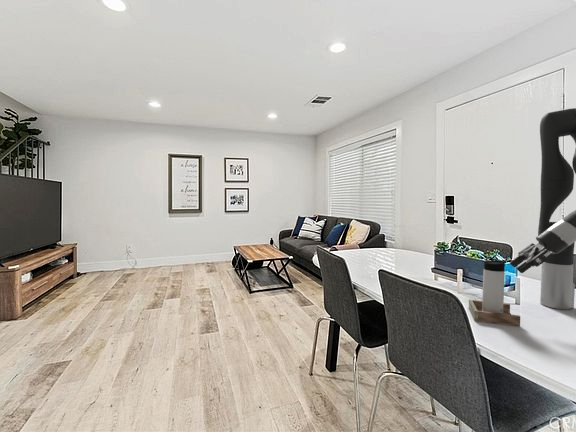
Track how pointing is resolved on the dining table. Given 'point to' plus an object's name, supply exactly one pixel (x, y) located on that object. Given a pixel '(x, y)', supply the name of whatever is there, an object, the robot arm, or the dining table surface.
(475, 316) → the brown wooden tray
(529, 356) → the dining table surface
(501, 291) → the travel mug
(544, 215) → the robot arm
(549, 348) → the dining table surface
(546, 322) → the dining table surface
